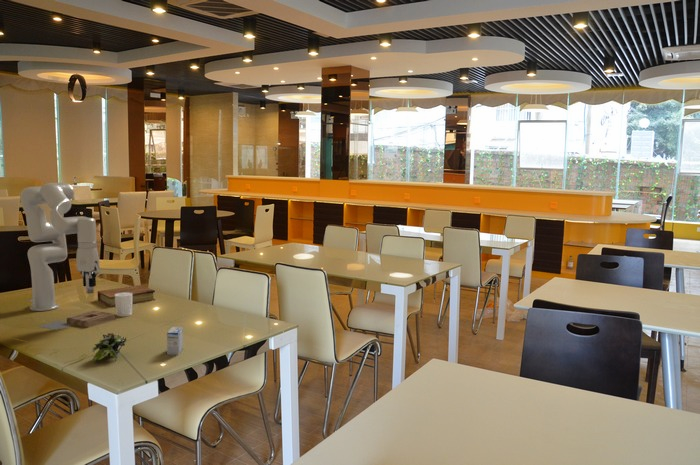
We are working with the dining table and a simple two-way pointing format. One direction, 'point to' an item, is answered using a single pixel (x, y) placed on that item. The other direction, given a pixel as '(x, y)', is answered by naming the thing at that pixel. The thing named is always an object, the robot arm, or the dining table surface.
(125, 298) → the white cup
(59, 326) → the mat
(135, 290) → the diary
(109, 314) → the hole block
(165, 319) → the dining table surface
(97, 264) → the robot arm
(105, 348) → the green leafy plant
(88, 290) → the peg
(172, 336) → the medicine box
